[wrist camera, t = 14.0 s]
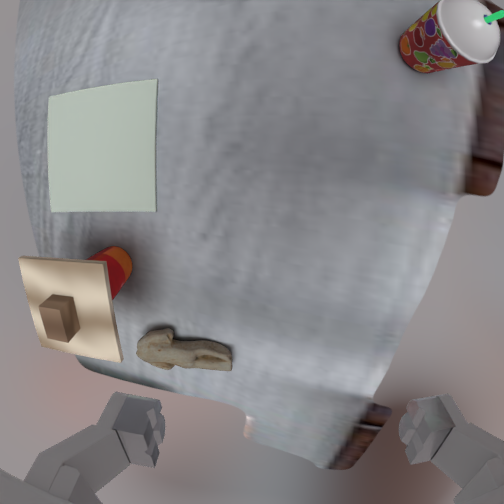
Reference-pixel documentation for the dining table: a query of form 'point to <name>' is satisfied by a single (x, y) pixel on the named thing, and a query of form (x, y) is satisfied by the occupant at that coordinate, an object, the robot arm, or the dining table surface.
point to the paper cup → (115, 266)
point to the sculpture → (182, 352)
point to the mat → (103, 148)
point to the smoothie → (451, 36)
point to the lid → (72, 306)
